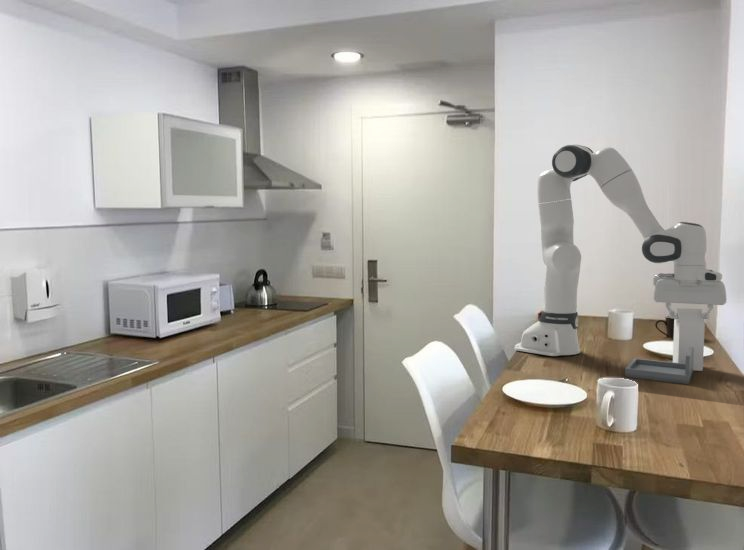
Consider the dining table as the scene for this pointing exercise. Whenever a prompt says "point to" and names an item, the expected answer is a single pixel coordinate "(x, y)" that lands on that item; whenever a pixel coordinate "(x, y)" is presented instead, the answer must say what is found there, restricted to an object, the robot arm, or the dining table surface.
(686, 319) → the milk carton
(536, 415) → the dining table surface
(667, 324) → the coffee mug
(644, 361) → the tray
